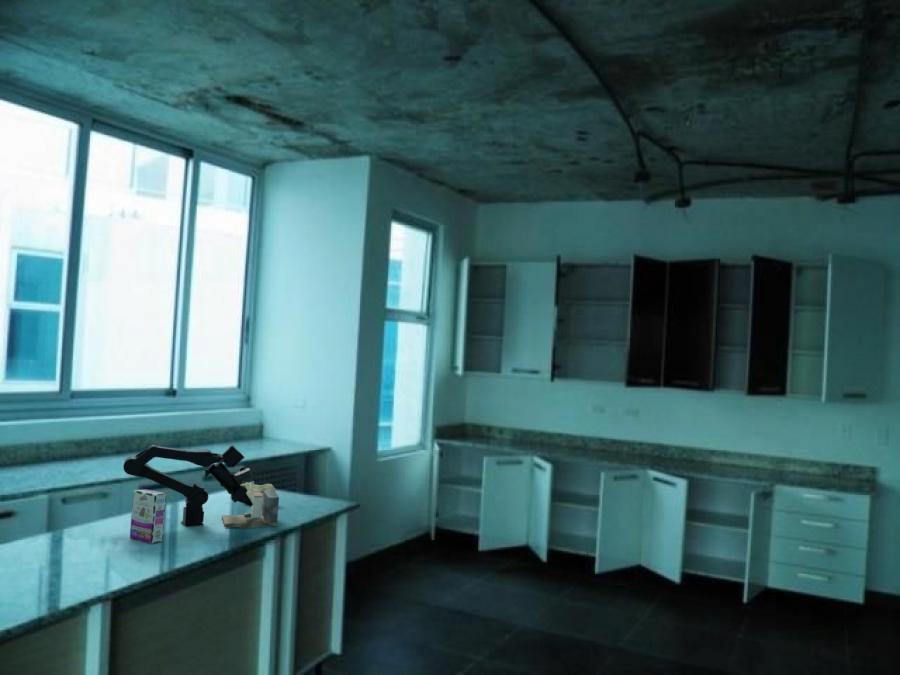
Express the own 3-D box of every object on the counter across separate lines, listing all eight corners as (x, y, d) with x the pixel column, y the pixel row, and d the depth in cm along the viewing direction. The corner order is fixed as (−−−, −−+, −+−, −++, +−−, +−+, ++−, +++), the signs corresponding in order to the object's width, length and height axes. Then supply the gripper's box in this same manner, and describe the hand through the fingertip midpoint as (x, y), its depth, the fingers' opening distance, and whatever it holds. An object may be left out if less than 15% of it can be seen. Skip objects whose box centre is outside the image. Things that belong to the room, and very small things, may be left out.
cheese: (280, 511, 307) (276, 483, 318) (276, 501, 302) (272, 473, 313) (244, 521, 304) (241, 493, 315) (239, 511, 299) (236, 483, 310)
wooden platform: (224, 527, 267) (226, 497, 268) (221, 519, 280) (223, 490, 280) (276, 526, 275) (279, 497, 275) (271, 518, 287) (273, 490, 287)
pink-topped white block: (252, 520, 275) (254, 495, 275) (250, 516, 280) (252, 492, 280) (260, 520, 276) (262, 495, 276) (258, 516, 281) (260, 492, 281)
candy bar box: (163, 541, 245) (167, 492, 245) (151, 544, 241) (155, 495, 241) (141, 535, 250) (144, 487, 250) (128, 538, 246) (132, 489, 246)
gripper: (243, 465, 267) (271, 495, 271) (238, 457, 284) (264, 485, 288) (219, 487, 264) (248, 516, 268) (215, 477, 281) (243, 505, 285)
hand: (252, 505), depth 277 cm, fingers closed, pressing on pink-topped white block
